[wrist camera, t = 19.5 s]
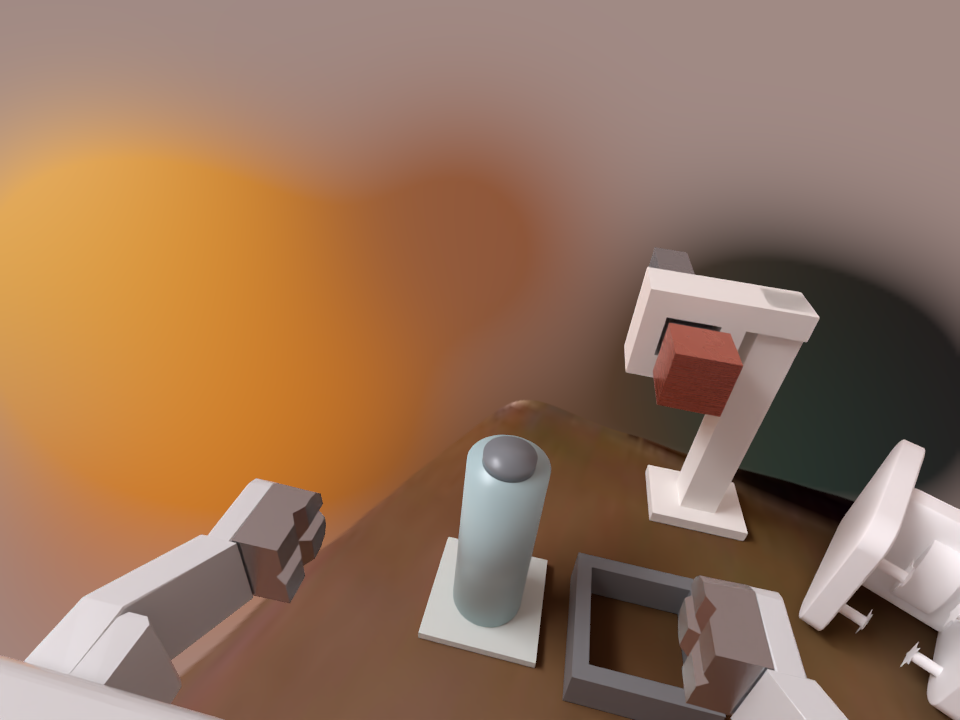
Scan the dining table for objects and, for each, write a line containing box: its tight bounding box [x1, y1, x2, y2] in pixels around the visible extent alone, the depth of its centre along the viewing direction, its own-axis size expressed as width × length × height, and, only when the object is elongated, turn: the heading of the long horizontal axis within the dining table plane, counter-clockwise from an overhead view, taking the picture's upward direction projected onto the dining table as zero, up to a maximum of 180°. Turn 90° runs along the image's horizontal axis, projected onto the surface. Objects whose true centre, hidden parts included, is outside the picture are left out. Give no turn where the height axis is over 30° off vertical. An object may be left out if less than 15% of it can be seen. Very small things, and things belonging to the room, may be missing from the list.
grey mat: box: [418, 537, 547, 668], centre depth 38 cm, size 8×8×1 cm
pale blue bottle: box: [453, 435, 551, 627], centre depth 34 cm, size 5×5×14 cm
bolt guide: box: [624, 267, 819, 541], centre depth 42 cm, size 14×6×21 cm, turn 78°
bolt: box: [649, 248, 743, 417], centre depth 41 cm, size 4×21×4 cm, turn 168°
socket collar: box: [563, 553, 726, 720], centre depth 35 cm, size 9×9×3 cm
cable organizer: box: [799, 440, 960, 720], centre depth 37 cm, size 15×11×12 cm
